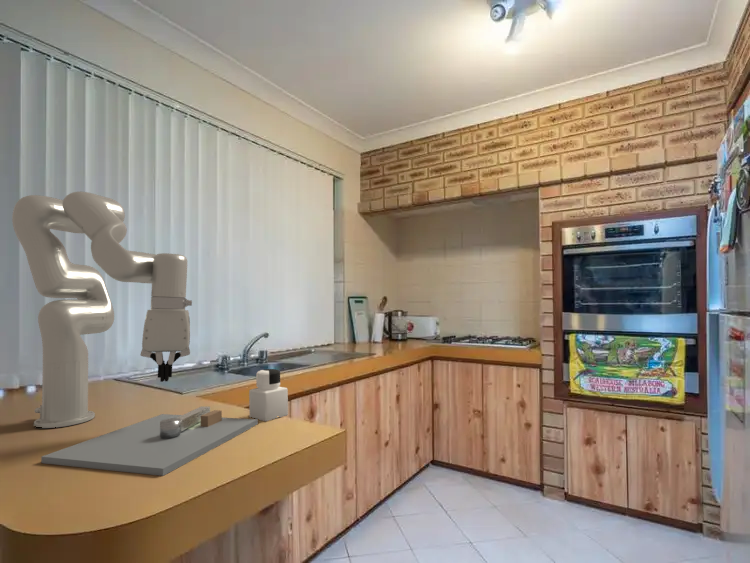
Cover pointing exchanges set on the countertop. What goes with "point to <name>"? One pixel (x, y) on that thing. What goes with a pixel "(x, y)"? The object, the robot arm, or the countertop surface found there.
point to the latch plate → (151, 445)
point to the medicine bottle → (268, 396)
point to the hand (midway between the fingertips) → (164, 380)
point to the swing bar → (181, 422)
